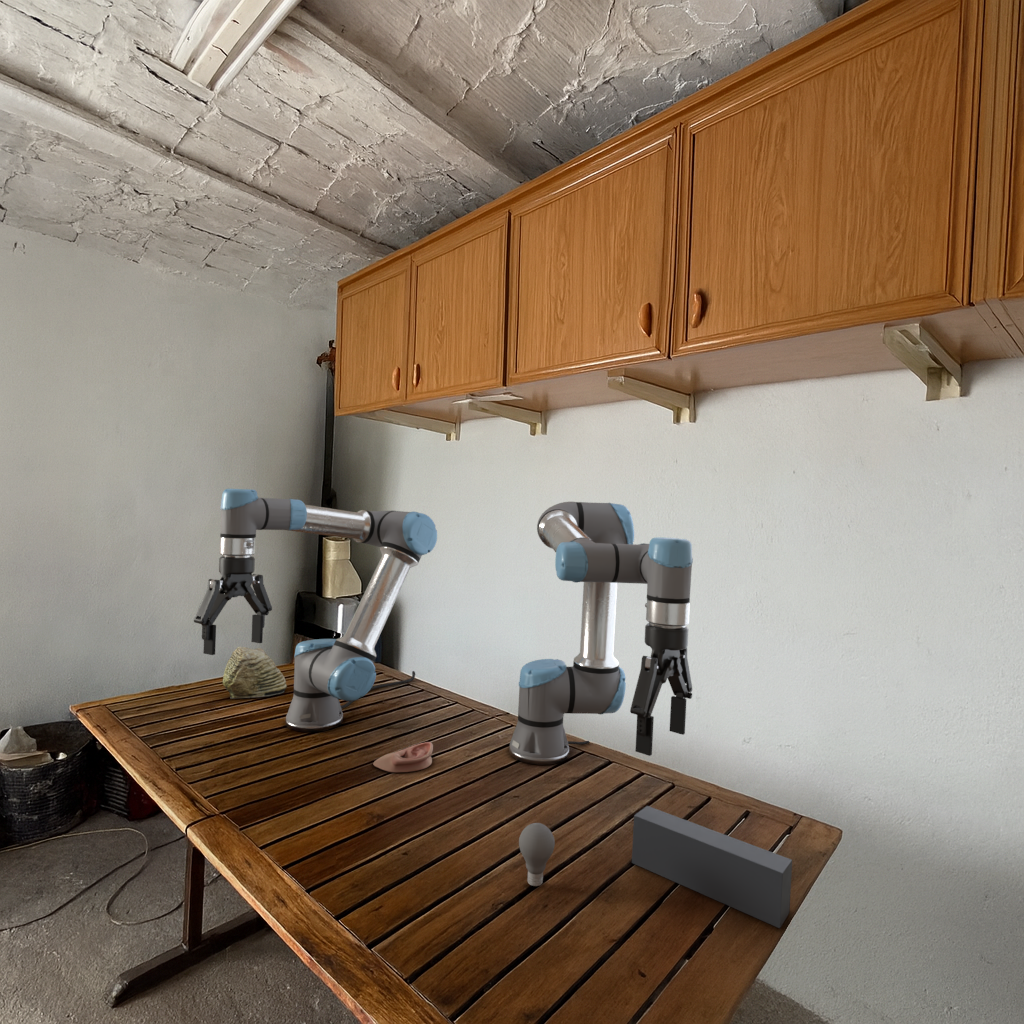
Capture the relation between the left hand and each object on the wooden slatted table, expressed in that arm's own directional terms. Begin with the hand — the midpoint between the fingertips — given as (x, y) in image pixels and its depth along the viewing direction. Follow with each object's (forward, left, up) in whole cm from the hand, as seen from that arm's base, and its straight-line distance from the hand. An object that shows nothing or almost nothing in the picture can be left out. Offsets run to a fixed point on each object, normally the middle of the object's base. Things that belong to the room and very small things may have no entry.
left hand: (234, 648), depth 146 cm
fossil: (-31, -44, -28) cm, 61 cm away
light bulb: (-12, +79, -28) cm, 84 cm away
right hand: (-32, +91, -5) cm, 97 cm away
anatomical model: (-29, +27, -28) cm, 48 cm away
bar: (-32, +101, -28) cm, 109 cm away
